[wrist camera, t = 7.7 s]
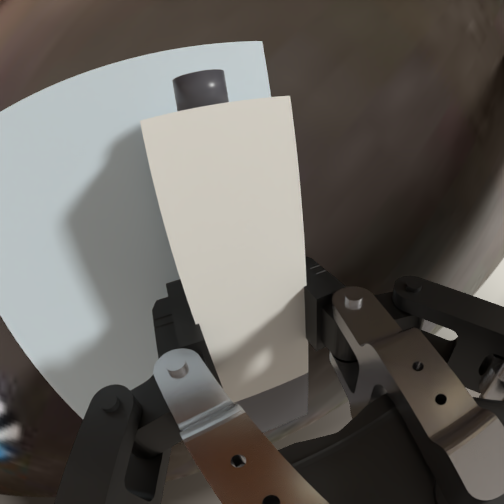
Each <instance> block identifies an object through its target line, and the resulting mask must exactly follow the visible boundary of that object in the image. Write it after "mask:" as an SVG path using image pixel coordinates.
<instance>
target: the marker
mask: <svg viewBox="0 0 504 504" xmlns="http://www.w3.org/2000/svg"><path fill="white" fill-rule="evenodd" d="M172 82H173V88H174V94H175V100H176V106H177V112H173V113H168V114H164V115H160V116H156V117H152V118H148V119H144V120H141V121H140V124H141V129H142V134H143V139H144V143H145V148H146V153H147V157H148V162H149V166H150V171H151V175H152V179H153V183H154V187H155V191H156V195H157V199H158V203H159V207H160V211H161V215H162V218H163V222H164V226H165V229H166V233H167V236H168V240H169V243H170V247H171V250H172V253H173V257H174V260H175V263H176V267H177V270H178V273H179V276H180V279H181V283H182V286H183V289H184V292H185V295H186V298H187V301H188V304H189V307H190V310H191V313H192V315H193V318H194V321H195V324H199V325H200V328H201V331H202V334H203V336H204V339H205V342H206V345H207V347H208V350H209V353H210V356H211V358H212V361H213V364H214V366H215V369H216V371H217V374H218V377H219V379H220V382H221V384H222V387H223V388H222V389H223V390H224V391H225V393H226V394H227V395H228V397H229V398H230V399H231V401H232V402H233V403H237V404H239V405H240V406H241V407H242V409H243V410H244V411H245V412H246V413H247V415H248V416H249V417H250V418H251V420H252V421H253V422H254V423H255V424H256V426H257V427H258V428H259V429H260V430H261V432H262V433H264V432H266V431H269V430H271V429H274V428H276V427H279V426H281V425H283V424H286V423H288V422H290V421H293V420H295V419H297V418H299V417H301V416H304V415H306V414H308V340H307V339H306V328H305V299H304V287H305V286H307V282H306V261H305V244H304V228H303V214H302V202H301V190H300V179H299V168H298V159H297V149H296V140H295V132H294V123H293V115H292V108H291V100H290V96H280V97H268V98H258V99H249V100H241V101H234V102H229V99H228V93H227V87H226V80H225V74H224V70H220V69H213V70H203V71H197V72H192V73H188V74H185V75H181V76H179V77H176V78H174V79H173V80H172Z"/></svg>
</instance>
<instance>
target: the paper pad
mask: <svg viewBox="0 0 504 504" xmlns="http://www.w3.org/2000/svg"><path fill="white" fill-rule="evenodd" d="M213 69H220V70H224V74H225V80H226V87H227V93H228V99H229V102H234V101H241V100H249V99H258V98H268V97H271V93H270V87H269V80H268V74H267V68H266V61H265V55H264V49H263V44H262V41H246V42H229V43H217V44H208V45H199V46H192V47H185V48H179V49H173V50H167V51H162V52H157V53H152V54H148V55H143V56H139V57H135V58H131V59H127V60H124V61H120V62H116V63H113V64H110V65H106V66H103V67H100V68H97V69H94V70H91V71H88V72H85V73H82V74H80V75H77V76H74V77H72V78H69V79H67V80H64V81H62V82H59V83H57V84H55V85H52V86H50V87H48V88H46V89H43V90H41V91H39V92H37V93H35V94H33V95H31V96H29V97H27V98H25V99H23V100H21V101H19V102H17V103H15V104H13V105H12V106H10V107H8V108H6V109H5V110H3V111H1V112H0V316H1V317H2V319H3V321H4V322H5V324H6V325H7V327H8V329H9V330H10V332H11V333H12V335H13V336H14V338H15V339H16V341H17V342H18V344H19V345H20V346H21V348H22V349H23V351H24V352H25V353H26V355H27V356H28V358H29V359H30V360H31V362H32V363H33V364H34V365H35V367H36V368H37V369H38V371H39V372H40V373H41V374H42V376H43V377H44V378H45V379H46V380H47V382H48V383H49V384H50V385H51V386H52V387H53V389H54V390H55V391H56V392H57V393H58V394H59V395H60V396H61V398H62V399H63V400H64V401H65V402H66V403H67V404H68V405H69V406H70V407H71V408H72V409H73V410H74V411H75V412H76V413H77V414H78V415H79V416H80V417H81V418H82V419H84V416H85V414H86V412H87V409H88V407H89V404H90V402H91V400H92V398H93V396H94V395H95V394H96V393H97V392H98V391H99V390H100V389H102V388H104V387H106V386H109V385H114V384H118V385H123V386H125V387H127V388H128V389H129V390H132V389H134V388H136V387H137V386H139V385H141V384H143V383H144V382H146V381H147V380H148V379H149V378H151V376H152V375H153V369H154V365H155V363H156V362H157V360H158V352H157V345H156V338H155V331H154V323H153V315H152V309H153V307H154V304H155V302H156V300H159V299H162V298H166V297H168V293H167V288H166V283H169V282H172V281H175V280H179V279H180V276H179V273H178V270H177V267H176V263H175V260H174V257H173V253H172V250H171V247H170V243H169V240H168V236H167V233H166V229H165V226H164V222H163V218H162V215H161V211H160V207H159V203H158V199H157V195H156V191H155V187H154V183H153V179H152V175H151V171H150V166H149V162H148V157H147V153H146V148H145V143H144V139H143V134H142V129H141V124H140V121H141V120H144V119H148V118H152V117H156V116H160V115H164V114H168V113H173V112H177V106H176V100H175V94H174V88H173V82H172V80H173V79H174V78H176V77H179V76H181V75H185V74H188V73H192V72H197V71H203V70H213Z"/></svg>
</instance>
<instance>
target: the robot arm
mask: <svg viewBox="0 0 504 504" xmlns="http://www.w3.org/2000/svg"><path fill="white" fill-rule="evenodd" d="M305 261H306V282H307V286H305V287H304V299H305V328H306V339H307V340H308V341H309V343H310V344H311V345H312V346H313V348H314V349H315V350H316V351H318V350H320V349H322V348H324V347H327V348H328V349H329V350H330V355H329V359H330V362H331V364H332V366H333V368H334V370H335V372H336V374H337V376H338V378H339V381H340V383H341V385H342V387H343V389H344V391H345V393H346V395H347V397H348V400H349V403H350V409H351V410H350V411H351V416H352V420H351V421H350V422H349V423H348V424H347V425H346V426H345V427H344V428H343V429H342V430H340V431H339V432H337V433H335V434H331V435H328V436H324V437H320V438H316V439H312V440H307V441H303V442H298V443H294V444H292V445H289V446H287V447H285V448H283V449H280V450H277V449H276V448H275V447H274V446H273V445H272V443H271V442H270V441H269V440H268V439H267V438H266V436H265V435H264V434H263V433H262V432H261V430H260V429H259V428H258V427H257V426H256V424H255V423H254V422H253V421H252V420H251V418H250V417H249V416H248V415H247V413H246V412H245V411H244V410H243V409H242V407H241V406H240V405H239V404H237V403H233V402H232V401H231V399H230V398H229V397H228V395H227V394H226V393H225V391H224V390H223V389H222V388H223V387H222V384H221V382H220V379H219V377H218V374H217V371H216V369H215V366H214V364H213V361H212V358H211V356H210V353H209V350H208V347H207V345H206V342H205V339H204V336H203V334H202V331H201V328H200V325H199V324H195V321H194V318H193V315H192V313H191V310H190V307H189V304H188V301H187V298H186V295H185V292H184V289H183V286H182V283H181V279H179V280H175V281H172V282H169V283H166V288H167V293H168V297H166V298H162V299H159V300H156V302H155V304H154V307H153V309H152V315H153V323H154V331H155V338H156V345H157V352H158V360H157V362H156V363H155V365H154V369H153V375H152V376H151V378H149V379H148V380H147V381H146V382H144V383H143V384H141V385H139V386H137V387H136V388H134V389H132V390H129V389H128V388H127V387H125V386H123V385H118V384H114V385H109V386H106V387H104V388H102V389H100V390H99V391H98V392H97V393H96V394H95V395H94V396H93V398H92V400H91V402H90V404H89V407H88V409H87V412H86V414H85V416H84V419H83V421H82V424H81V426H80V429H79V432H78V434H77V437H76V439H75V442H74V445H73V447H72V450H71V453H70V456H69V459H68V461H67V464H66V467H65V470H64V473H63V476H62V479H61V483H60V486H59V489H58V492H57V496H56V499H55V503H54V504H161V501H162V495H163V490H164V484H165V479H166V474H167V468H168V463H169V458H170V453H171V447H172V446H174V445H176V444H177V443H179V442H180V441H182V440H183V441H184V443H185V445H186V447H187V449H188V450H189V452H190V454H191V456H192V457H193V459H194V461H195V462H196V464H197V466H198V467H199V469H200V471H201V472H202V474H203V475H204V477H205V479H206V480H207V482H208V483H209V485H210V486H211V488H212V489H213V491H214V492H215V494H216V495H217V497H218V498H219V499H220V501H221V502H222V504H504V307H502V306H499V305H496V304H494V303H491V302H488V301H485V300H483V299H480V298H477V297H474V296H471V295H469V294H466V293H463V292H460V291H457V290H454V289H451V288H448V287H445V286H443V285H440V284H437V283H434V282H431V281H428V280H425V279H422V278H419V277H414V276H405V277H401V278H399V279H398V280H397V281H396V282H395V284H394V289H393V292H389V293H384V294H379V295H373V294H372V293H371V292H370V291H369V290H367V289H365V288H362V287H356V286H351V287H346V286H345V285H343V284H342V283H341V282H340V281H339V280H337V279H336V278H335V277H334V276H333V275H331V274H330V273H329V272H328V271H325V269H324V268H323V267H321V266H319V264H318V263H316V262H315V261H314V260H313V259H312V258H309V257H306V256H305ZM424 319H425V320H428V321H430V322H433V323H435V324H438V325H441V326H443V327H446V328H449V329H451V330H453V331H455V332H456V333H457V335H458V337H457V338H456V339H455V340H453V341H449V340H445V339H443V338H441V337H438V336H436V335H433V334H431V333H428V332H425V331H423V330H421V329H422V326H423V323H424ZM465 387H466V388H468V389H471V390H474V391H476V392H478V393H481V394H480V396H479V398H476V397H472V396H471V395H470V394H469V392H468V391H467V390H466V388H465Z"/></svg>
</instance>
